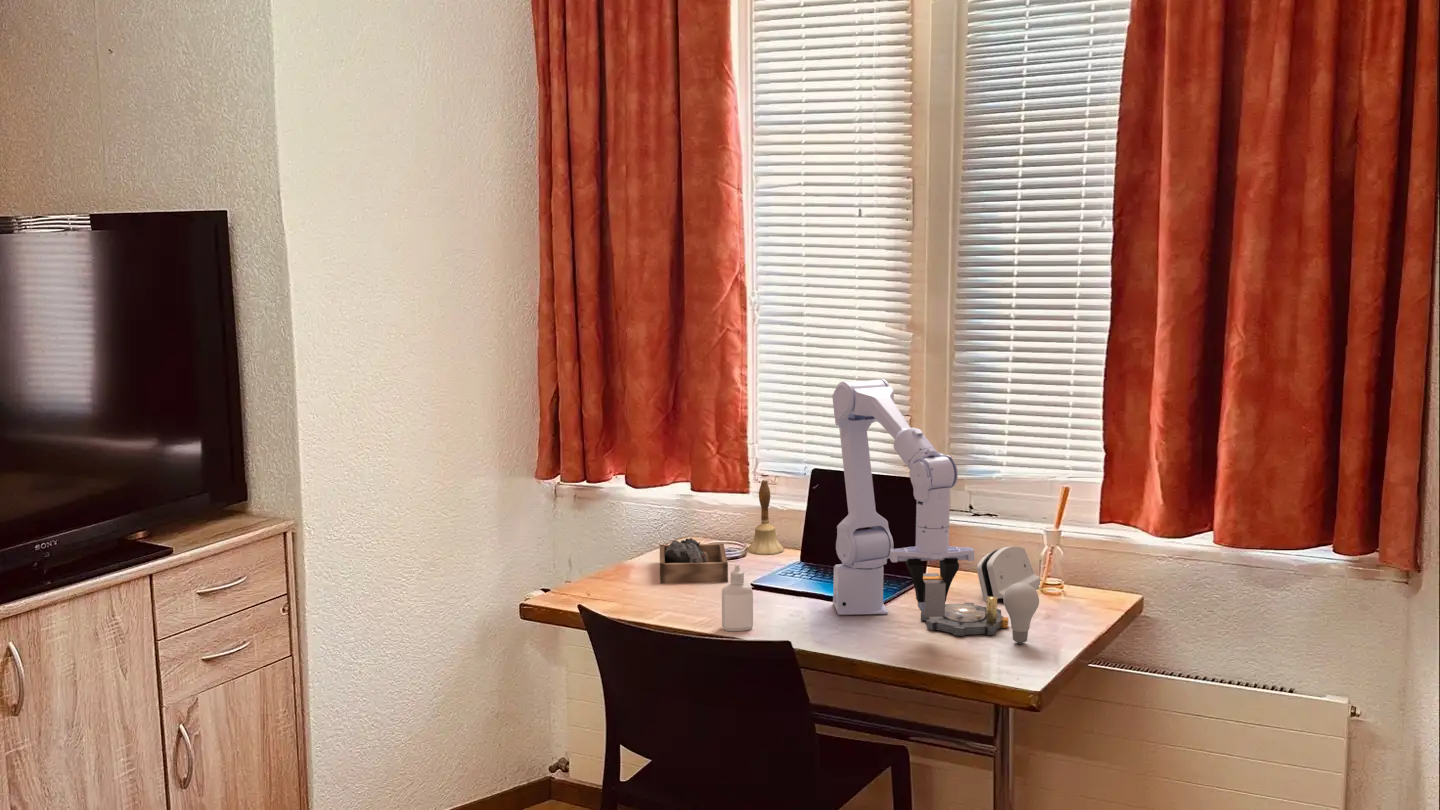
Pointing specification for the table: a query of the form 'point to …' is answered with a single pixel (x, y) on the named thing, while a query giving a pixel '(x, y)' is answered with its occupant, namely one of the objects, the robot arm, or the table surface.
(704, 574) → the open wooden box
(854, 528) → the robot arm
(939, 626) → the sprocket
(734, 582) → the eye dropper bottle
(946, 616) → the hub
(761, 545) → the hand bell
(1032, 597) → the lightbulb
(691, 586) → the table surface
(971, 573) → the table surface
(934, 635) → the table surface
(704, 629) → the table surface
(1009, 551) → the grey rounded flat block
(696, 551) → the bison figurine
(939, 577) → the marked link
